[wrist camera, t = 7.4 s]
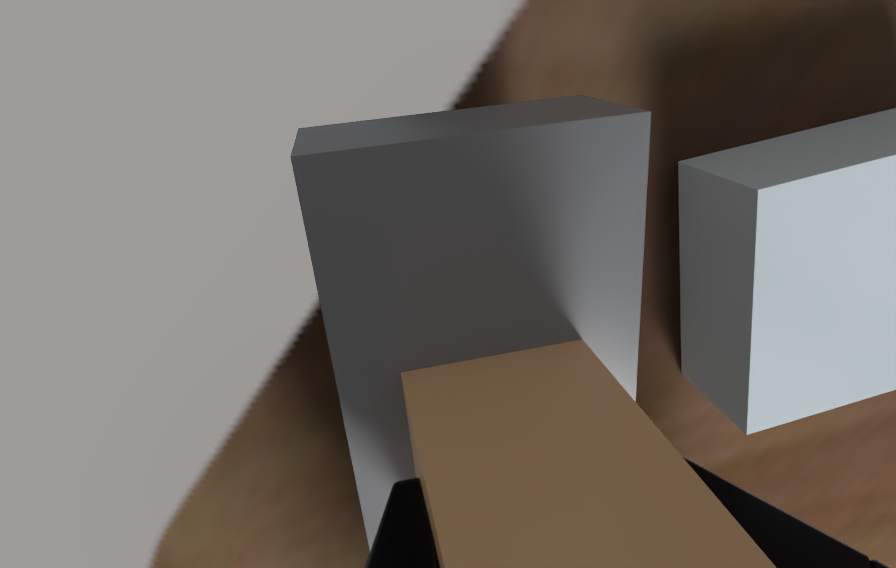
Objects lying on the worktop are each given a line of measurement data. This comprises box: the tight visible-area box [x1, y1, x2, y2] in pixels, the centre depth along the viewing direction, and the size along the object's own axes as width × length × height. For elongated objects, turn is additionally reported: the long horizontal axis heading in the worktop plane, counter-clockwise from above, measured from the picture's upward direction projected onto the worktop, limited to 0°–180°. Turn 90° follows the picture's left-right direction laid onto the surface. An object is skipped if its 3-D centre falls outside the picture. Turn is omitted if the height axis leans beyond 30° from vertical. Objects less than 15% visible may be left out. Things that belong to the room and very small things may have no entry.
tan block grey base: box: [291, 95, 776, 568], centre depth 8 cm, size 5×10×10 cm, turn 5°
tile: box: [678, 108, 896, 435], centre depth 14 cm, size 6×6×3 cm
